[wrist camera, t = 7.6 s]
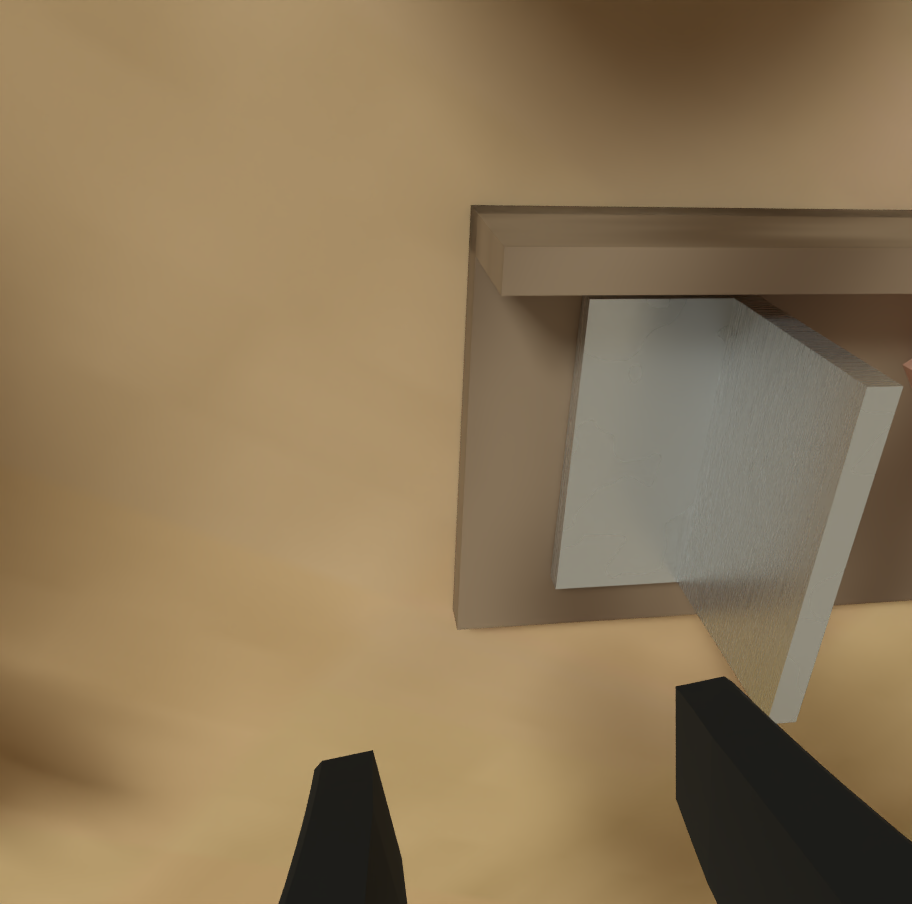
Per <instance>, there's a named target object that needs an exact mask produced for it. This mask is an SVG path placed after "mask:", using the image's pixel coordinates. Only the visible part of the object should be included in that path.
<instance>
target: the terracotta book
mask: <svg viewBox="0 0 912 904" xmlns="http://www.w3.org/2000/svg"><path fill="white" fill-rule="evenodd" d="M903 367H904V370H905V372H906V375H907V377H908V380H909V382H910V385H911V387H912V359H911V360H909V361H907V362H906V363H904V364H903Z"/></svg>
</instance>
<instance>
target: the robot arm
mask: <svg viewBox="0 0 912 904" xmlns="http://www.w3.org/2000/svg"><path fill="white" fill-rule="evenodd" d="M676 800H677V803H678V805H679V808H680V811H681V814H682V816H683V819H684V822H685V825H686V827H687V830H688V833H689V835H690V838H691V841H692V844H693V846H694V849H695V852H696V854H697V857H698V859H699V862H700V865H701V867H702V870H703V872H704V875H705V878H706V880H707V883H708V885H709V887H710V889H711V891H712V893H713V895H714V897H715V900H716V902H717V904H912V842H911V841H910V840H909V839H907V838H906V837H905V836H904V835H903V834H901V833H900V832H899V831H898V830H896V829H895V828H894V827H893V826H892V825H891V824H889V823H888V822H887V821H886V820H885V819H883V818H882V817H881V816H880V815H879V814H878V813H876V812H875V811H874V810H873V809H872V808H871V807H869V806H868V805H867V804H866V803H865V802H863V801H862V800H861V799H860V798H859V797H858V796H856V795H855V794H854V793H853V792H852V791H850V790H849V789H848V788H847V787H846V786H845V785H843V784H842V783H841V782H840V781H839V780H838V779H837V778H836V777H834V776H833V775H832V774H831V773H830V772H829V771H828V770H826V769H825V768H824V767H823V766H822V765H821V764H820V763H819V762H818V761H816V760H815V759H814V758H813V757H812V756H811V755H810V754H809V753H808V752H807V751H805V750H804V749H803V748H802V747H801V746H800V745H799V744H798V743H797V742H795V741H794V740H793V739H792V738H791V737H790V736H789V735H788V734H787V733H786V732H785V731H784V730H783V729H781V728H780V727H779V726H778V725H777V724H776V723H775V722H774V721H773V720H772V719H771V718H770V717H769V716H768V715H766V714H765V713H764V712H763V711H762V710H761V709H760V708H759V707H758V706H757V705H756V704H755V703H754V702H753V701H752V700H751V699H750V698H749V697H748V696H747V695H746V694H744V693H743V692H742V691H741V690H740V689H739V688H738V687H737V686H736V685H735V684H734V683H733V682H732V681H730V680H729V679H727V678H726V677H719V678H714V679H710V680H705V681H700V682H695V683H691V684H686V685H681V686H676ZM279 904H407V898H406V889H405V881H404V873H403V865H402V858H401V854H400V850H399V846H398V843H397V839H396V835H395V832H394V828H393V824H392V820H391V817H390V813H389V809H388V805H387V802H386V798H385V794H384V790H383V787H382V783H381V779H380V775H379V772H378V768H377V764H376V760H375V757H374V753H373V750H372V751H367V752H362V753H358V754H353V755H348V756H343V757H339V758H334V759H329V760H324V761H322V762H321V763H320V764H319V765H318V766H317V767H316V769H315V770H314V775H313V780H312V785H311V790H310V795H309V799H308V803H307V807H306V812H305V816H304V820H303V823H302V827H301V831H300V835H299V838H298V842H297V846H296V849H295V852H294V856H293V859H292V862H291V866H290V869H289V873H288V876H287V879H286V883H285V886H284V889H283V892H282V895H281V898H280V901H279Z"/></svg>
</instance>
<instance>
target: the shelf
mask: <svg viewBox="0 0 912 904" xmlns="http://www.w3.org/2000/svg"><path fill="white" fill-rule="evenodd" d="M749 294H757V295H758V296H760V297H762V298H763V299H765V300H766V301H768V302H770V303H771V304H773V305H774V306H776V307H778V308H779V309H781V310H782V311H784V312H786V313H787V314H789V315H790V316H792V317H794V318H795V319H797V320H798V321H800V322H802V323H803V324H805V325H806V326H808V327H810V328H811V329H813V330H814V331H816V332H818V333H819V334H821V335H822V336H824V337H826V338H827V339H829V340H830V341H832V342H834V343H835V344H837V345H838V346H840V347H842V348H843V349H845V350H846V351H848V352H850V353H851V354H853V355H854V356H856V357H858V358H859V359H861V360H862V361H864V362H866V363H867V364H869V365H870V366H872V367H874V368H875V369H877V370H878V371H880V372H882V373H883V374H885V375H886V376H888V377H890V378H891V379H893V380H894V381H896V382H898V383H899V384H901V385H902V386H903V389H902V392H901V395H900V398H899V402H898V405H897V408H896V411H895V414H894V417H893V420H892V423H891V427H890V430H889V433H888V436H887V439H886V442H885V445H884V448H883V452H882V455H881V458H880V461H879V464H878V467H877V470H876V473H875V476H874V480H873V483H872V486H871V489H870V492H869V495H868V498H867V501H866V505H865V508H864V511H863V514H862V517H861V520H860V523H859V526H858V530H857V533H856V536H855V539H854V542H853V545H852V548H851V551H850V554H849V558H848V561H847V564H846V567H845V570H844V573H843V576H842V579H841V583H840V586H839V589H838V592H837V595H836V598H835V601H834V604H833V605H845V604H861V603H876V602H891V601H907V600H912V387H911V385H910V382H909V380H908V377H907V375H906V372H905V370H904V367H903V364H904V363H906V362H907V361H909V360H911V359H912V210H853V209H763V208H673V207H583V206H494V205H471V216H470V238H469V261H468V283H467V305H466V327H465V350H464V372H463V394H462V416H461V439H460V461H459V483H458V505H457V528H456V550H455V572H454V594H453V612H454V617H455V621H456V626H457V630H461V629H476V628H492V627H507V626H522V625H538V624H553V623H568V622H584V621H599V620H615V619H630V618H645V617H661V616H676V615H691V614H697V613H696V611H695V610H694V608H693V607H692V605H691V603H690V602H689V600H688V599H687V597H686V596H685V594H684V592H683V591H682V589H681V588H680V586H679V584H678V583H677V582H669V583H652V584H635V585H618V586H601V587H584V588H567V589H555V586H554V584H553V581H552V579H551V568H552V559H553V550H554V541H555V532H556V523H557V515H558V506H559V497H560V488H561V479H562V470H563V462H564V453H565V444H566V435H567V426H568V417H569V409H570V400H571V391H572V382H573V373H574V364H575V356H576V347H577V338H578V329H579V320H580V311H581V303H582V295H749Z"/></svg>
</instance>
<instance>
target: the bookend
mask: <svg viewBox="0 0 912 904" xmlns="http://www.w3.org/2000/svg"><path fill="white" fill-rule="evenodd" d="M902 389H903V386H902V385H901V384H899V383H898V382H896V381H894V380H893V379H891V378H890V377H888V376H886V375H885V374H883V373H882V372H880V371H878V370H877V369H875V368H874V367H872V366H870V365H869V364H867V363H866V362H864V361H862V360H861V359H859V358H858V357H856V356H854V355H853V354H851V353H850V352H848V351H846V350H845V349H843V348H842V347H840V346H838V345H837V344H835V343H834V342H832V341H830V340H829V339H827V338H826V337H824V336H822V335H821V334H819V333H818V332H816V331H814V330H813V329H811V328H810V327H808V326H806V325H805V324H803V323H802V322H800V321H798V320H797V319H795V318H794V317H792V316H790V315H789V314H787V313H786V312H784V311H782V310H781V309H779V308H778V307H776V306H774V305H773V304H771V303H770V302H768V301H766V300H765V299H763V298H762V297H760V296H758V295H757V294H749V295H582V303H581V311H580V320H579V329H578V338H577V347H576V356H575V364H574V373H573V382H572V391H571V400H570V409H569V417H568V426H567V435H566V444H565V453H564V462H563V470H562V479H561V488H560V497H559V506H558V515H557V523H556V532H555V541H554V550H553V559H552V568H551V579H552V581H553V584H554V586H555V589H567V588H584V587H601V586H618V585H635V584H652V583H669V582H677V583H678V584H679V586H680V588H681V589H682V591H683V592H684V594H685V596H686V597H687V599H688V600H689V602H690V603H691V605H692V607H693V608H694V610H695V611H696V613H697V615H698V616H699V618H700V619H701V621H702V623H703V624H704V626H705V627H706V629H707V630H708V632H709V634H710V635H711V637H712V638H713V640H714V642H715V643H716V645H717V646H718V648H719V649H720V651H721V653H722V654H723V656H724V657H725V659H726V661H727V662H728V664H729V665H730V667H731V669H732V670H733V672H734V673H735V675H736V676H737V678H738V680H739V681H740V683H741V684H742V686H743V688H744V689H745V691H746V692H747V694H748V696H749V697H750V699H751V700H752V701H753V702H754V703H755V704H756V705H757V706H758V707H759V708H760V709H761V710H762V711H763V712H764V713H765V714H766V715H768V716H769V717H770V718H771V719H772V720H773V721H774V722H775V723H776V724H777V723H789V722H796V720H797V717H798V714H799V711H800V707H801V704H802V701H803V698H804V695H805V692H806V689H807V686H808V682H809V679H810V676H811V673H812V670H813V667H814V664H815V661H816V657H817V654H818V651H819V648H820V645H821V642H822V639H823V636H824V633H825V629H826V626H827V623H828V620H829V617H830V614H831V611H832V608H833V604H834V601H835V598H836V595H837V592H838V589H839V586H840V583H841V579H842V576H843V573H844V570H845V567H846V564H847V561H848V558H849V554H850V551H851V548H852V545H853V542H854V539H855V536H856V533H857V530H858V526H859V523H860V520H861V517H862V514H863V511H864V508H865V505H866V501H867V498H868V495H869V492H870V489H871V486H872V483H873V480H874V476H875V473H876V470H877V467H878V464H879V461H880V458H881V455H882V452H883V448H884V445H885V442H886V439H887V436H888V433H889V430H890V427H891V423H892V420H893V417H894V414H895V411H896V408H897V405H898V402H899V398H900V395H901V392H902Z"/></svg>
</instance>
